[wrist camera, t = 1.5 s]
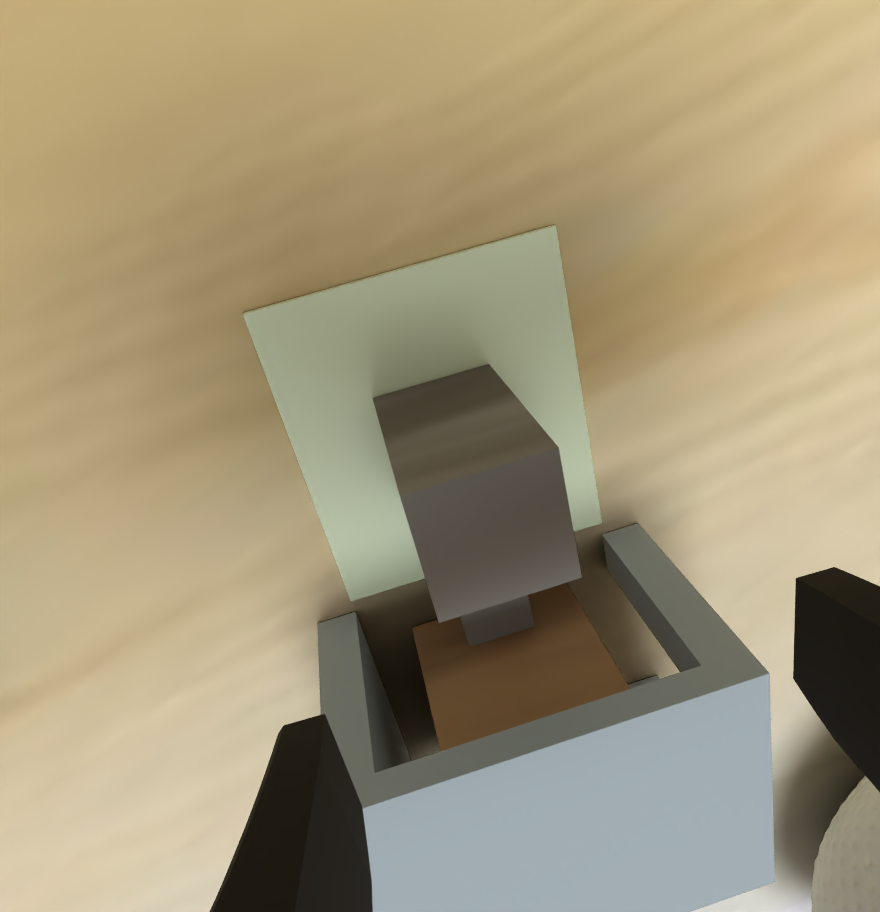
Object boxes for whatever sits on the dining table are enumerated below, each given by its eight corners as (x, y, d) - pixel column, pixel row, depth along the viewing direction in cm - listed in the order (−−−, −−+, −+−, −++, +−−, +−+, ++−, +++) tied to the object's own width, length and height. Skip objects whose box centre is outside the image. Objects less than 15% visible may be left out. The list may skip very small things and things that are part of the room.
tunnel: (317, 623, 21) (325, 821, 15) (637, 523, 22) (769, 673, 16) (387, 793, 25) (416, 1008, 19) (660, 702, 25) (774, 881, 19)
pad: (243, 312, 17) (242, 314, 17) (553, 224, 17) (556, 225, 17) (350, 597, 21) (350, 602, 21) (599, 519, 21) (602, 523, 21)
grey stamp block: (338, 407, 18) (353, 509, 13) (521, 354, 18) (602, 434, 13) (454, 757, 24) (495, 916, 19) (590, 712, 24) (664, 858, 20)
